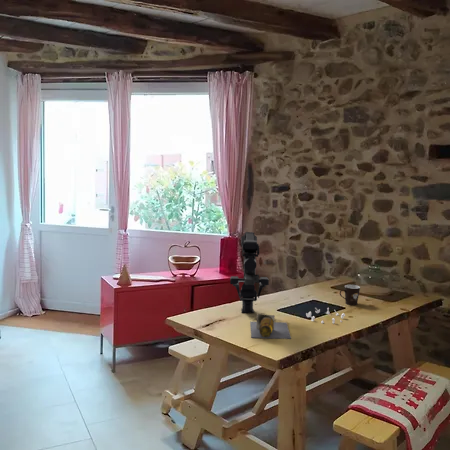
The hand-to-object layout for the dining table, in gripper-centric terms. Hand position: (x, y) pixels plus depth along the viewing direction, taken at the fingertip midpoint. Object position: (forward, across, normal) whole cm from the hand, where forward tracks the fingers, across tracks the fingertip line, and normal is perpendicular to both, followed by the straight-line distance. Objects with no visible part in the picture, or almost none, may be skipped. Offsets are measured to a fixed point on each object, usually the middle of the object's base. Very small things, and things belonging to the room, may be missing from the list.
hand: (248, 297), depth 256 cm
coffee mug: (+13, +58, +40) cm, 72 cm away
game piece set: (+14, +40, +12) cm, 44 cm away
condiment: (+9, +8, -10) cm, 15 cm away
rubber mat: (+13, +10, -10) cm, 19 cm away
